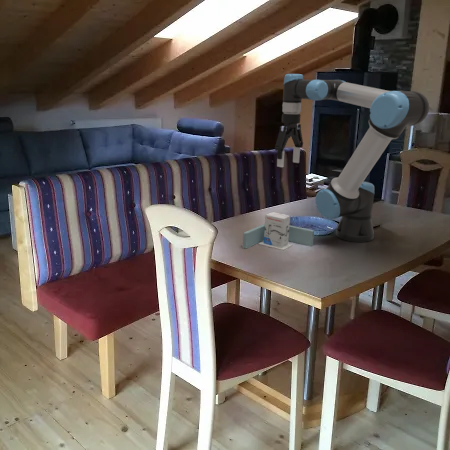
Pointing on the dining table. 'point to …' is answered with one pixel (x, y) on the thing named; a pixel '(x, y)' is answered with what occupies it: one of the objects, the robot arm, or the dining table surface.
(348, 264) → the dining table surface
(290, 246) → the pad
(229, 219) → the dining table surface
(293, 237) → the teal angle bracket
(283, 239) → the ink box
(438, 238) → the dining table surface
